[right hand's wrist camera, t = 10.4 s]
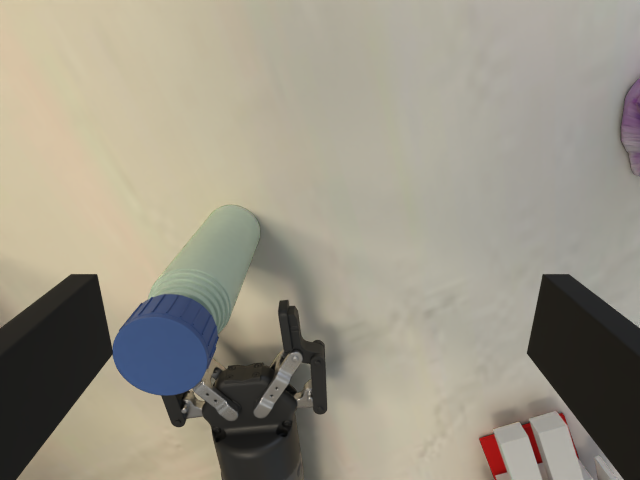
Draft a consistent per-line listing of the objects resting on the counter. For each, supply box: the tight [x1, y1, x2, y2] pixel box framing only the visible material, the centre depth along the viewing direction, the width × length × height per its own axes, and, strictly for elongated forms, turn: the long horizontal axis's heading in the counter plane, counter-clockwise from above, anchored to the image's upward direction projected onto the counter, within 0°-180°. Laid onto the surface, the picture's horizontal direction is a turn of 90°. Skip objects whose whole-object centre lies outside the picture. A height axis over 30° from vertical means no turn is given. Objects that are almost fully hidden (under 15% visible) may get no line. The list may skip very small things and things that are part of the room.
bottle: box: [148, 205, 260, 334], centre depth 29 cm, size 5×5×18 cm
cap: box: [113, 294, 219, 396], centre depth 22 cm, size 5×5×2 cm
